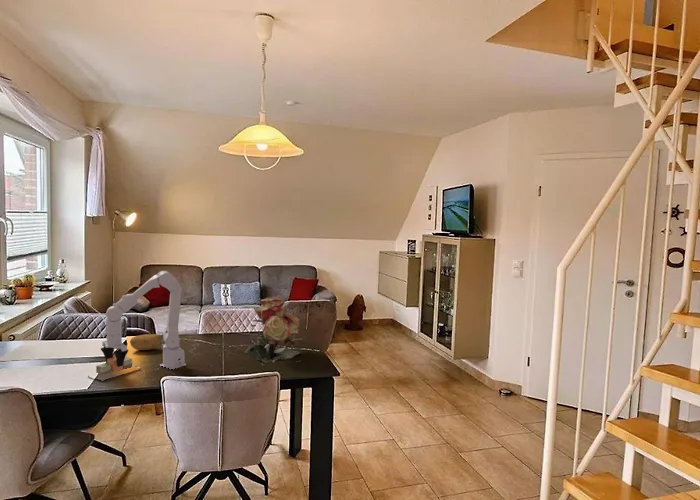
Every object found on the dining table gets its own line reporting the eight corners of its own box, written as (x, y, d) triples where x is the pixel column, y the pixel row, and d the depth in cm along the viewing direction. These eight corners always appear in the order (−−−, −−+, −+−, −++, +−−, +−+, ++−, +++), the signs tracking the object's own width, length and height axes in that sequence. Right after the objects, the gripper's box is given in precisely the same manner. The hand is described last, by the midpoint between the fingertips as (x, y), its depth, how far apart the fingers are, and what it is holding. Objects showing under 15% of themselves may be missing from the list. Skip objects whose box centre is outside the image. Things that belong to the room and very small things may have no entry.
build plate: (140, 369, 202) (140, 358, 201) (101, 381, 186) (101, 370, 185) (126, 365, 206) (126, 354, 206) (87, 377, 191) (87, 365, 190)
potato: (130, 348, 231) (130, 333, 231) (160, 346, 236) (160, 331, 236) (128, 354, 222) (128, 338, 222) (159, 352, 227) (159, 336, 227)
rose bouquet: (267, 366, 210) (268, 303, 208) (239, 351, 233) (240, 294, 230) (312, 356, 227) (313, 298, 224) (282, 342, 249) (282, 289, 247)
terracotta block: (123, 370, 197) (123, 358, 197) (113, 373, 193) (113, 360, 193) (116, 368, 199) (116, 356, 199) (107, 371, 195) (107, 358, 195)
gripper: (95, 333, 195) (95, 363, 196) (115, 338, 188) (116, 370, 189) (110, 330, 201) (111, 359, 202) (131, 334, 194) (131, 365, 195)
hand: (114, 364), depth 196 cm, fingers open, 7 cm apart
